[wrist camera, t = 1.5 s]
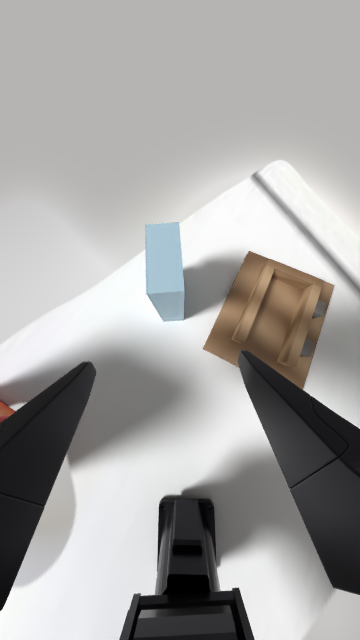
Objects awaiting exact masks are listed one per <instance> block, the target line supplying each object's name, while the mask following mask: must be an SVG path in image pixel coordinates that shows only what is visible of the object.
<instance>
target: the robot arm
mask: <svg viewBox="0 0 360 640" xmlns="http://www.w3.org/2000/svg"><path fill="white" fill-rule="evenodd" d="M238 365H239V368H240V371H241V374H242V377H243V381H244V384H245V387H246V389H247V392H248V394H249V396H250V399H251V401H252V403H253V406H254V408H255V410H256V412H257V415H258V417H259V419H260V422H261V424H262V426H263V429H264V431H265V433H266V435H267V438H268V440H269V442H270V445H271V447H272V449H273V452H274V454H275V456H276V458H277V461H278V463H279V465H280V468H281V470H282V472H283V474H284V477H285V479H286V481H287V484H288V486H289V488H290V491H291V493H292V495H293V498H294V500H295V502H296V505H297V507H298V509H299V511H300V514H301V516H302V518H303V521H304V523H305V525H306V528H307V530H308V532H309V534H310V537H311V539H312V541H313V544H314V546H315V548H316V551H317V553H318V555H319V557H320V560H321V562H322V564H323V567H324V569H325V571H326V573H327V576H328V578H329V580H330V582H331V584H332V586H333V588H336V589H340V590H343V591H347V592H350V593H354V594H358V595H360V429H359V428H358V427H356V426H355V425H353V424H351V423H350V422H348V421H347V420H345V419H344V418H342V417H341V416H339V415H338V414H336V413H335V412H333V411H332V410H330V409H329V408H328V407H326V406H325V405H323V404H322V403H320V402H319V401H318V400H316V399H315V398H313V397H312V396H311V397H310V395H309V394H308V393H306V392H305V391H304V390H302V389H301V388H299V387H298V386H297V385H295V384H294V383H293V382H291V381H290V380H288V379H287V378H286V377H284V376H283V375H281V374H280V373H279V372H277V371H276V370H274V369H273V368H272V367H270V366H269V365H268V364H266V363H265V362H263V361H262V360H261V359H259V358H258V357H256V356H255V355H254V354H252V353H251V352H249V351H248V350H241V351H240V352H239V357H238ZM95 376H96V369H95V368H94V366H93V364H92V362H90V361H88V362H82V363H81V364H79V365H78V366H77V367H75V368H74V369H73V370H71V371H70V372H69V373H67V374H66V375H64V376H63V377H62V378H60V379H59V380H58V381H56V382H55V383H54V384H52V385H51V386H50V387H48V388H47V389H45V390H44V391H43V392H41V393H40V394H39V395H37V396H36V397H35V398H33V399H32V400H31V401H29V402H28V403H27V404H25V405H24V406H22V407H21V408H20V409H18V410H17V411H16V412H14V413H13V414H12V415H10V416H9V417H8V418H6V419H5V420H3V421H2V422H1V423H0V611H1V610H2V609H3V607H4V605H5V603H6V600H7V598H8V596H9V593H10V591H11V588H12V586H13V583H14V581H15V578H16V576H17V574H18V571H19V569H20V566H21V564H22V561H23V559H24V556H25V554H26V552H27V549H28V547H29V544H30V542H31V539H32V537H33V534H34V532H35V529H36V527H37V525H38V522H39V520H40V517H41V515H42V512H43V510H44V506H45V505H46V502H47V500H48V497H49V495H50V492H51V490H52V487H53V485H54V482H55V480H56V478H57V475H58V473H59V470H60V468H61V465H62V463H63V460H64V458H65V456H66V453H67V451H68V448H69V446H70V443H71V441H72V438H73V436H74V434H75V431H76V429H77V426H78V424H79V421H80V419H81V416H82V414H83V411H84V409H85V407H86V404H87V401H88V399H89V396H90V392H91V389H92V386H93V382H94V379H95ZM162 505H165V506H164V507H163V506H162ZM209 505H210V506H211V507H208V506H209ZM120 640H254V636H253V633H252V630H251V626H250V623H249V620H248V617H247V613H246V610H245V607H244V603H243V600H242V597H241V593H240V590H239V588H232V591H220V586H219V580H218V573H217V567H216V544H215V520H214V506H213V502H212V501H211V500H209V499H162V500H161V501H160V503H159V523H158V563H157V581H156V590H155V595H147V596H141V593H138V594H134V596H133V599H132V602H131V606H130V609H129V610H128V613H127V616H126V620H125V623H124V626H123V630H122V633H121V636H120Z"/></svg>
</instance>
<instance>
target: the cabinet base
mask: <svg viewBox="0 0 360 640" xmlns="http://www.w3.org/2000/svg"><path fill="white" fill-rule="evenodd" d="M333 288H334V285H332V284H330V283H327V282H325V281H324V280H321V279H319V278H316V277H314V276H311V275H309V274H306V273H304V272H301V271H299V270H296V269H294V268H291V267H289V266H287V265H284V264H282V263H279V262H277V261H274V260H272V259H268V258H265V257H263V256H261V255H258V254H256V253H253V252H251V251H249V252H248V254H247V255H246V257H245V259H244V262H243V264H242V266H241V268H240V270H239V272H238V274H237V277H236V279H235V281H234V283H233V285H232V287H231V289H230V292H229V294H228V296H227V298H226V300H225V302H224V304H223V307H222V309H221V311H220V313H219V315H218V317H217V320H216V322H215V324H214V326H213V328H212V330H211V332H210V335H209V337H208V339H207V341H206V343H205V345H204V347H203V349H204V350H206V351H208V352H210V353H212V354H214V355H216V356H218V357H220V358H222V359H224V360H226V361H228V362H230V363H232V364H234V365H236V366H238V367H239V365H238V357H239V352H240V351H241V350H248V351H249V352H251V353H252V354H254V355H255V356H256V357H258V358H259V359H261V360H262V361H263V362H265V363H266V364H268V365H269V366H270V367H272V368H273V369H274V370H276V371H277V372H279V373H280V374H281V375H283V376H284V377H286V378H287V379H288V380H290V381H291V382H293V383H294V384H295V385H297V386H298V387H299V388H301V389H302V390H303V387H304V384H305V380H306V377H307V374H308V370H309V367H310V364H311V360H312V357H313V354H314V350H315V347H316V344H317V341H318V337H319V334H320V331H321V327H322V324H323V321H324V317H325V314H326V311H327V308H328V304H329V301H330V298H331V294H332V291H333Z"/></svg>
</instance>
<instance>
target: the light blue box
mask: <svg viewBox="0 0 360 640" xmlns="http://www.w3.org/2000/svg"><path fill="white" fill-rule="evenodd" d="M145 244H146V294H147V295H148V297H149V299H150V300H151V302H152V304H153V305H154V307H155V308H156V310H157V312H158V313H159V315H160V317H161V318H162V320H163V322H165V321H178V320H184V295H185V290H184V278H183V266H182V254H181V242H180V230H179V222H176V223H162V224H149V225H145Z"/></svg>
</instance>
